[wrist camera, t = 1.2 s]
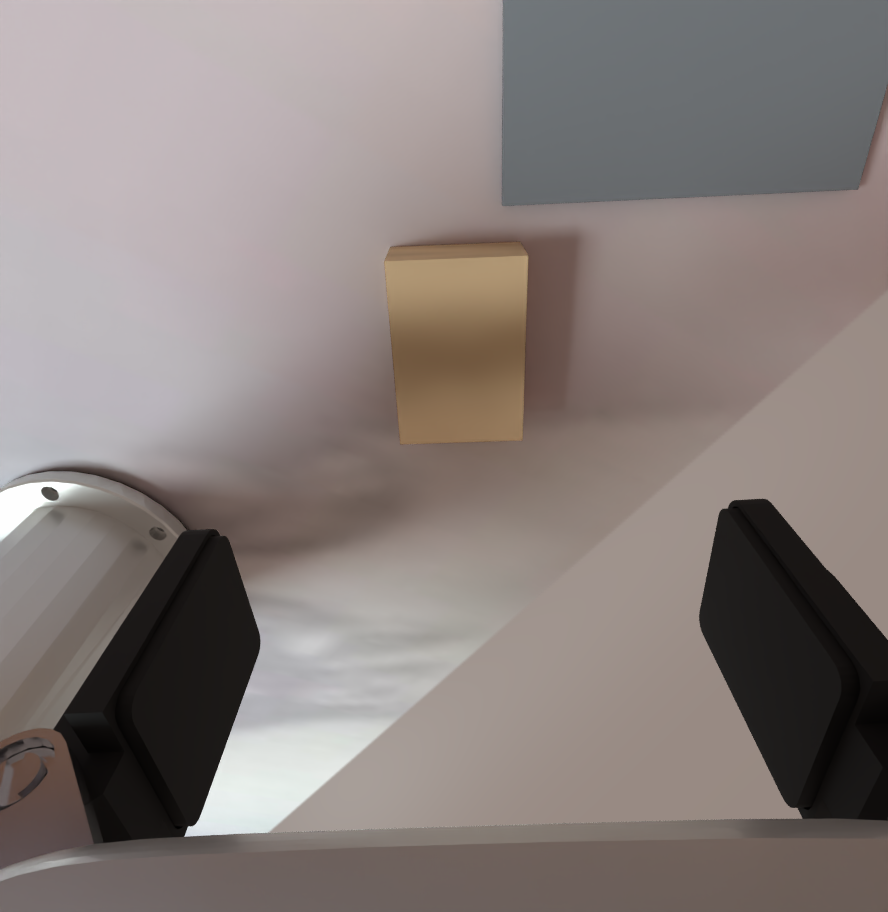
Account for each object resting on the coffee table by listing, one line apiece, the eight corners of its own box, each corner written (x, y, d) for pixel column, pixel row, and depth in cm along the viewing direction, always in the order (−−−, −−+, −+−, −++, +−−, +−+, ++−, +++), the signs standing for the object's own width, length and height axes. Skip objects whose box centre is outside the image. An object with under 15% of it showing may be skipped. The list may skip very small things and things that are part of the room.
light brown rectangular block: (515, 409, 29) (522, 440, 26) (404, 413, 29) (400, 444, 26) (519, 240, 25) (528, 255, 22) (390, 245, 25) (384, 261, 22)
